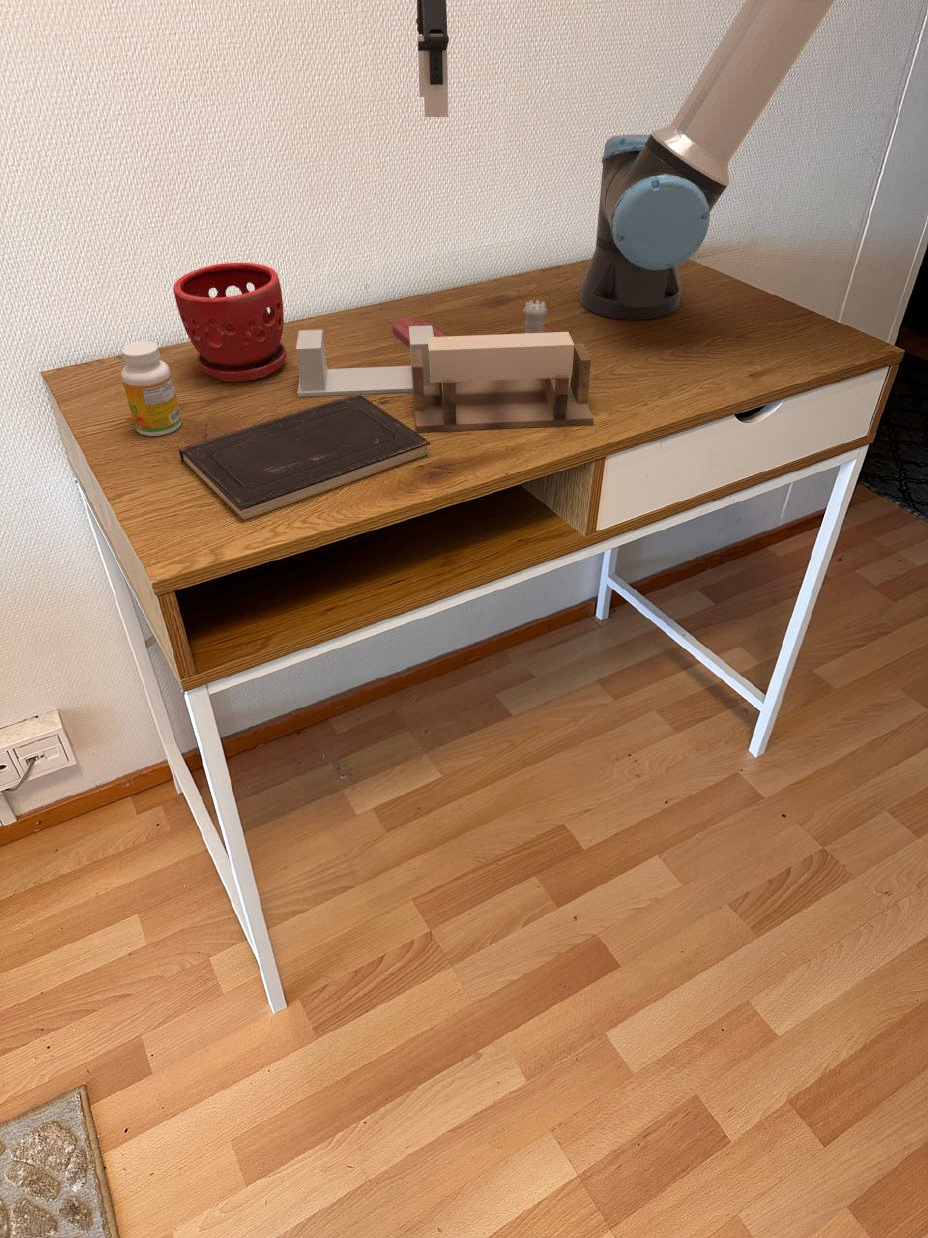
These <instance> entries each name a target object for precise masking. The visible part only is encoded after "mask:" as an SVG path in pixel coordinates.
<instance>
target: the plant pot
mask: <svg viewBox="0 0 928 1238" xmlns="http://www.w3.org/2000/svg"><path fill="white" fill-rule="evenodd" d="M249 283H250V284H252V285H253V287H254V290H252V291H250V290H249V289H248V286H247V285H248V284H249ZM230 287H235V288H238V290H239V291H240V293H241V294H237V295H231V296H230V295H229V296H227V290H228V289H229V288H230ZM211 289H216V292H217V294H216V295H215V296H214V297H211V296H210V290H211ZM172 290H173V295H174V300H175V304H176V307H177V309H178V310H177V311H178V314H179V318H180V320H181V323H182V325H183V327H184V330H185V332H186V334H187V336H188V338H189V340H190V342H191V344H192V345H193V347H194V349H195V350H196V351H197V353H199V354H198V357H197V364H198V366H199V368H200V369H201V370H202V372H204V373H205V374H207V375H208V376H210V377H212V378H214V379H216V380H221V381H224V382H225V381H226V382H246V381H250V380H260V379H261V378H264V377H266V376H269V375H270V374H272V373H274V372H276V371H277V370H278V369H279V368H280V367H281V366H282V365H283V364H284V362H285V360H286V357H287V348H286V346H285V344H283V343H282V342H281V341H282V337H283V332H284V325H285V323H284V321H285V319H284V318H285V316H284V301H283V294H282V293H283V292H282V291H283V290H282V287H281V281H280V278H279V274H278V273H277V272H276V270H274V269H273V268H271V266H266V265H264V264H258V263H254V262H225V263H219V264H213V265H208V266H204V267H200V268H197V269H195V270H193V271H190V272H188V273H186V274H184V275H182V276H181V277H179V278H178V279H177V280H176V281H175V282H174V284H173V288H172ZM268 308H269V311H268Z"/></svg>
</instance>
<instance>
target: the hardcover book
mask: <svg viewBox="0 0 928 1238" xmlns="http://www.w3.org/2000/svg"><path fill="white" fill-rule="evenodd" d="M429 445H431V441H429V440H428V439H426V438H425V437H424V436H422V435H421V434H420V433H419V432H417V433H416V430H415V431H414V430H413V429H411V428H410V427H409V426H407V424H405V423H403V422H401V420H398V419H397V418H395V417H394V416H392V415H391V414H389V413H388V412H386V411H385V410H384V409H382V408H381V407H379V406H378V405H376V404H374V403H373V402H372V401H370V400H369V399H367V398H366V397H364V396H363V395H362V394H355V395H347V396H345V397H342V398H338V399H335V400H333V401H329V402H326V403H323V404H318V405H315V406H312V407H310V408H306V409H303V410H299V411H296V412H293V413H290V414H287V415H286V414H285V415H283V416H280V417H276V418H273V419H271V420H267V421H263V422H260V423H257V424H254V425H250V426H247V427H245V428H241V429H238V430H234V431H231V432H228V433H224V434H221V435H219V436H215V437H211V438H209V439H204V440H202V441H199V442H195V443H192V444H188V445H185V446H182V447H179V448H178V453H179V458H180V461H181V462H182V461H183V462H185V463H186V464H187V465H188V466H189V467H190V468H191V469H192V470H193V471H194V472H195V473H196V474H197V475H198V476H199V477H200V478H201V479H202V480H203V481H204V482H205V483H206V485H208V486H209V487H210V488H211V489H212V490H213V491H214V492H215V493H216V494H217V495H218V496H219V497H220V498H221V499H222V500H223V501H224V502H225V504H227V505H228V506H229V507H230V508H231V509H232V510H233V511H234V512H235V513H236V514H237V515H238V516H239V517H240V519H242V520H243V521H245V520H248V519H251V518H254V517H256V516H259V515H262V514H264V513H268V512H270V511H273V510H275V509H279V508H282V507H284V506H287V505H290V504H294V503H295V502H298V501H300V500H303V499H307V498H309V497H312V496H315V495H317V494H321V493H324V492H325V491H329V490H331V489H335V488H337V487H340V486H343V485H346V484H349V483H352V482H354V481H357V480H359V479H363V478H365V477H368V476H371V475H374V474H376V473H380V472H382V471H385V470H388V469H391V468H393V467H396V466H398V465H399V466H400V465H402V464H405V463H407V462H409V461H413V460H416V459H419V458H421V457H424V456H426V455H428V453H427V452H428V450H429V449H428V448H427V446H429Z"/></svg>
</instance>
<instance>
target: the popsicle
mask: <svg viewBox="0 0 928 1238" xmlns="http://www.w3.org/2000/svg"><path fill="white" fill-rule="evenodd" d="M431 325H432V324H430V323H428V322H427V321H425V320H423V319H421V318H415V317H414V318H413V317H406V318H401V319H398V320H396V321H395V322H394V323H393V324H392V327H393V328H392V330H393V334H394V335H395V336H396V337H397V338H398V340H400V341H401V342H402V343H403V344H404V345H406V346H407V347H409V348H410V342H409V326H431ZM432 328H433V335H434V337H448V335H446V334H444V333H443V332H441V331H440V330H439V329H437V328H436V327H434V326H433V325H432Z"/></svg>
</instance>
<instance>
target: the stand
mask: <svg viewBox="0 0 928 1238" xmlns="http://www.w3.org/2000/svg"><path fill="white" fill-rule="evenodd" d="M430 325H431V326H409V342H410V347H409V356H410V357H409V358H410V365H399V366H398V365H396V366H371V367H352V368H351V367H349V368H347V367H345V368H328V366H327V359H326V349H325V340H324V332H323V331H324V329H305V330H301V329H300V330H298V335H297V339H296V345H295V346H296V347H295V352H296V360H297V361H296V362H297V368H298V374H299V378H298V386H297V391H296V392H297V397H298V398H302V397H303V398H305V397H308V398H309V397H325V396H351V395H355V394H360V395H372V394H373V395H375V394H378V395H379V394H395V393H396V394H398V393H401V392H402V393H413V387H412V384H413V380H412V358H411V350H421V354H422V362H423V379H424V384H434V383H430V378H429V371H428V345H427V337H434V335H433V328H432V326H433V325H432V324H430Z"/></svg>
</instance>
